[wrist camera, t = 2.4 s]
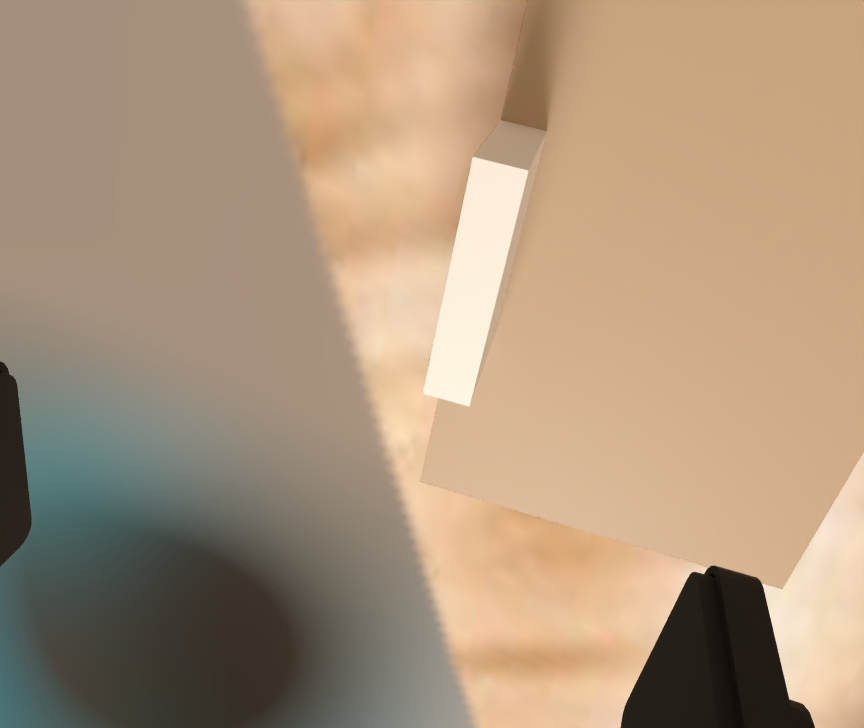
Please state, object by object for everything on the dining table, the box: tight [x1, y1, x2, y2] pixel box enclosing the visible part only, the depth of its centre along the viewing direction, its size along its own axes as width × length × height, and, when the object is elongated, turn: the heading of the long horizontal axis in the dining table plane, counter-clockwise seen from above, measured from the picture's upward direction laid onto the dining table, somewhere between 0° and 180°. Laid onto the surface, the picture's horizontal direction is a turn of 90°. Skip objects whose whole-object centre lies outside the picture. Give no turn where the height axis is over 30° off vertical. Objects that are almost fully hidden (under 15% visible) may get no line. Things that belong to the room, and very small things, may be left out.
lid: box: [420, 0, 864, 589], centre depth 19 cm, size 18×12×5 cm, turn 169°
